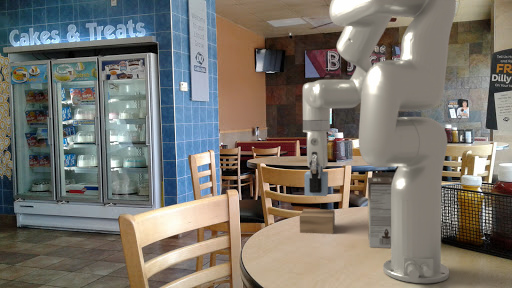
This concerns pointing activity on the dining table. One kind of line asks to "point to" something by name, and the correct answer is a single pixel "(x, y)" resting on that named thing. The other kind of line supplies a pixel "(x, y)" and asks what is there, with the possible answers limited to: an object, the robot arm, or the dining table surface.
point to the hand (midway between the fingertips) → (316, 189)
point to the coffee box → (379, 211)
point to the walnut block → (317, 221)
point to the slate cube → (323, 184)
